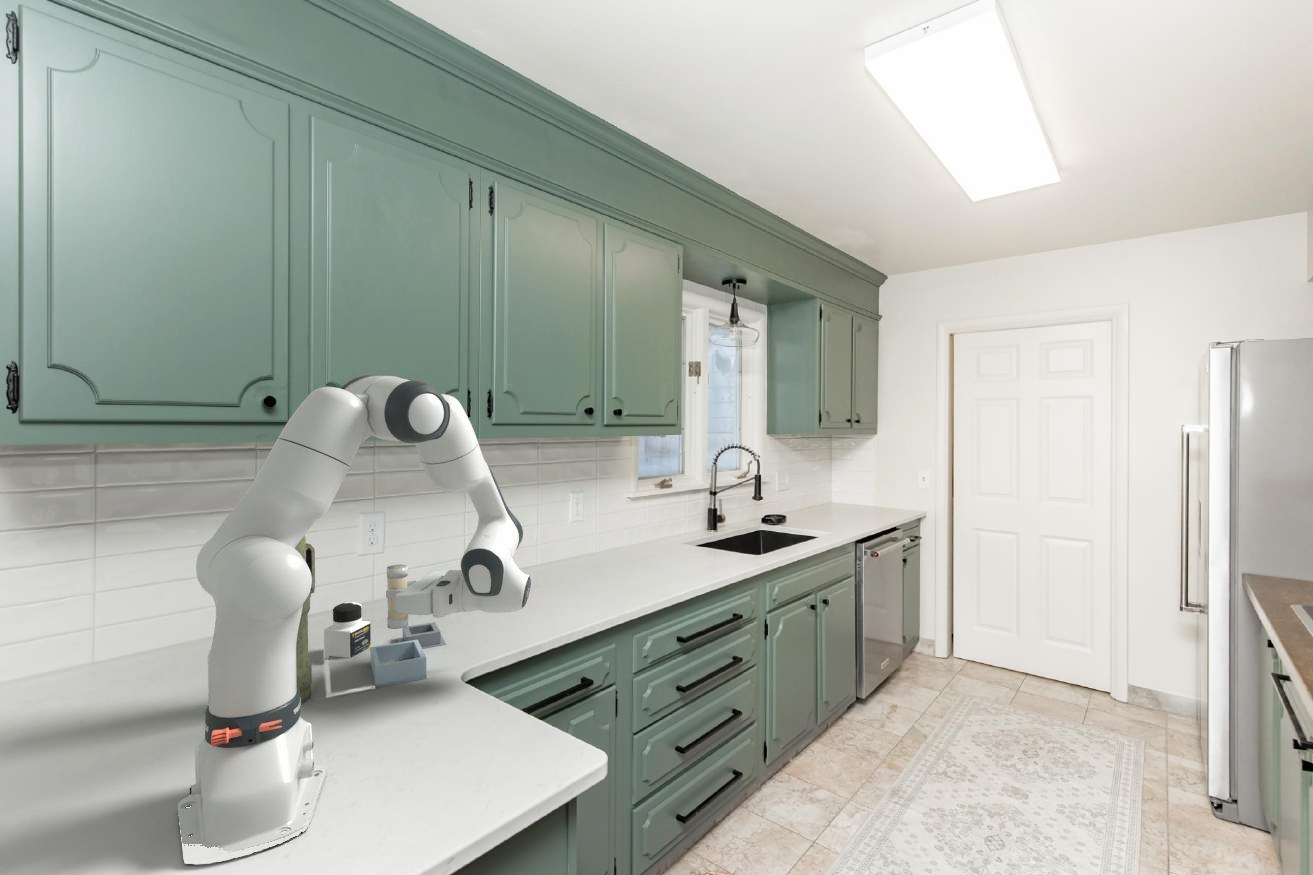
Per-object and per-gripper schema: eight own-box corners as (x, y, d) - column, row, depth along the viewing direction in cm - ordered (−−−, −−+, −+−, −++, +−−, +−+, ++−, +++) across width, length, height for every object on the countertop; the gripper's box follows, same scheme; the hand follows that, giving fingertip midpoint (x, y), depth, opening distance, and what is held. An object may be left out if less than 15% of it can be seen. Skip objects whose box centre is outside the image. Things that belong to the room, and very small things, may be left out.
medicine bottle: (350, 662, 140) (350, 610, 140) (323, 659, 142) (322, 608, 141) (371, 650, 147) (370, 601, 147) (345, 647, 149) (344, 598, 148)
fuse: (409, 627, 134) (408, 567, 133) (388, 630, 132) (387, 570, 131) (406, 621, 138) (406, 563, 137) (386, 624, 135) (385, 565, 135)
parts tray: (426, 678, 132) (426, 657, 132) (375, 688, 127) (375, 667, 127) (417, 658, 143) (417, 639, 143) (370, 667, 138) (370, 647, 138)
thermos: (240, 709, 118) (237, 528, 117) (296, 683, 129) (293, 518, 128) (274, 717, 115) (270, 531, 113) (327, 690, 126) (325, 521, 125)
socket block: (446, 648, 149) (446, 632, 149) (402, 656, 144) (402, 639, 144) (439, 635, 157) (438, 619, 157) (396, 642, 153) (396, 626, 152)
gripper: (472, 564, 144) (414, 563, 145) (437, 590, 124) (369, 588, 124) (472, 591, 144) (414, 589, 145) (437, 621, 124) (370, 619, 124)
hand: (393, 589), depth 134 cm, fingers closed on fuse, 4 cm apart
